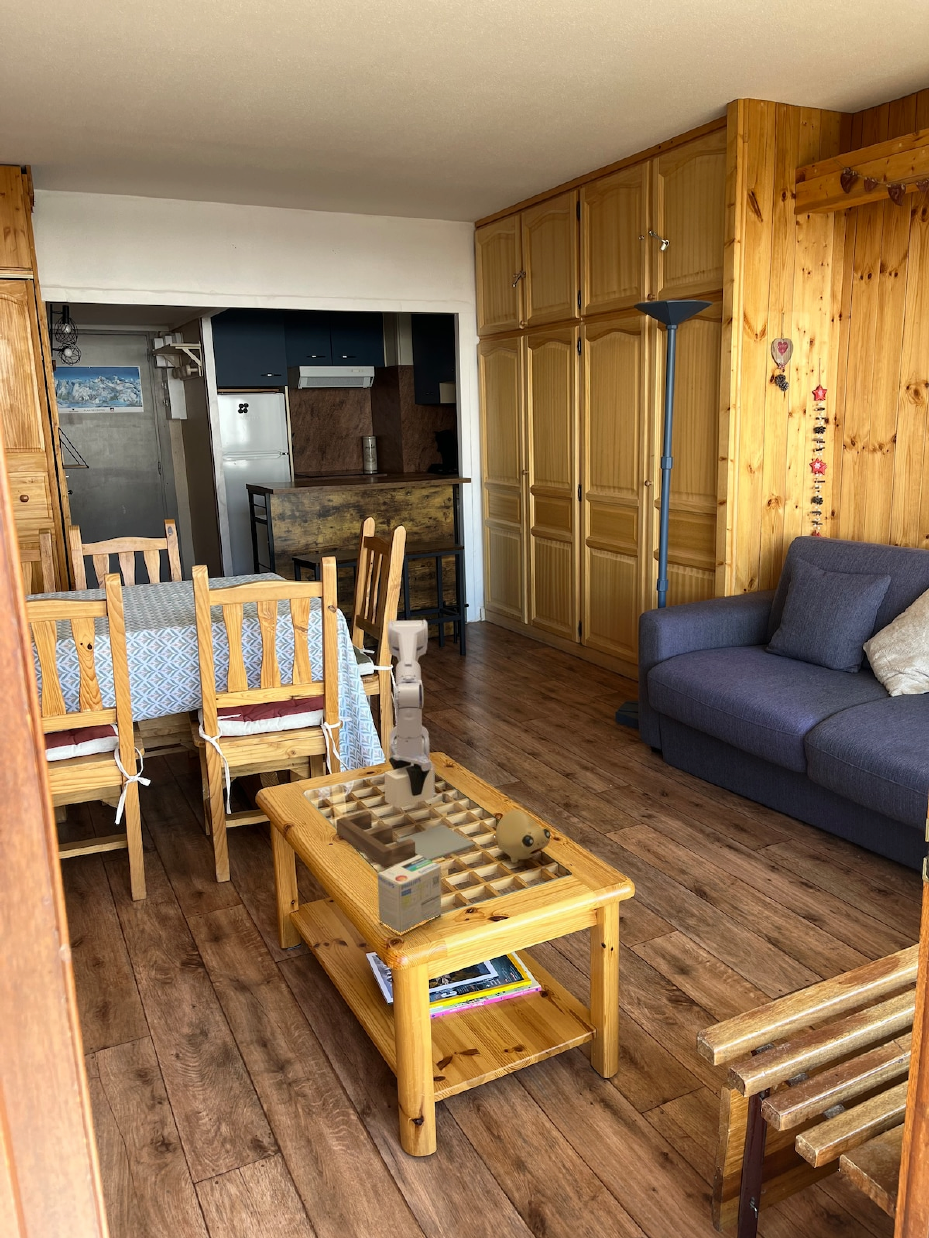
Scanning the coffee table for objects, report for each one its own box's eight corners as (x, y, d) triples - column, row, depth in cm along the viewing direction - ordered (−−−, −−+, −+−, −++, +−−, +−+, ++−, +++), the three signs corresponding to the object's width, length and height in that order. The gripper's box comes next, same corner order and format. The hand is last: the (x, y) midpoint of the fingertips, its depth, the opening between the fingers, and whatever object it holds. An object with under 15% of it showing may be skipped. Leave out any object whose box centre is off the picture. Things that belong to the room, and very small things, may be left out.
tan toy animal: (522, 876, 198) (523, 828, 195) (487, 854, 207) (487, 809, 205) (558, 862, 203) (559, 816, 201) (522, 842, 213) (522, 797, 210)
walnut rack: (367, 824, 222) (366, 810, 221) (415, 856, 206) (415, 841, 205) (336, 833, 217) (336, 819, 216) (383, 867, 201) (383, 852, 201)
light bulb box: (419, 903, 187) (418, 852, 185) (442, 916, 183) (442, 864, 180) (377, 923, 180) (375, 871, 178) (400, 937, 175) (399, 884, 173)
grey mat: (443, 826, 221) (443, 824, 220) (474, 845, 211) (474, 843, 211) (395, 841, 213) (395, 839, 213) (426, 862, 204) (426, 860, 203)
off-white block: (421, 790, 223) (421, 762, 222) (433, 797, 220) (433, 768, 218) (385, 801, 218) (384, 772, 216) (396, 808, 214) (396, 779, 212)
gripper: (377, 729, 219) (378, 784, 222) (412, 747, 207) (413, 805, 210) (403, 723, 223) (404, 777, 226) (438, 740, 211) (439, 797, 214)
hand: (410, 790), depth 218 cm, fingers closed on off-white block, 5 cm apart
